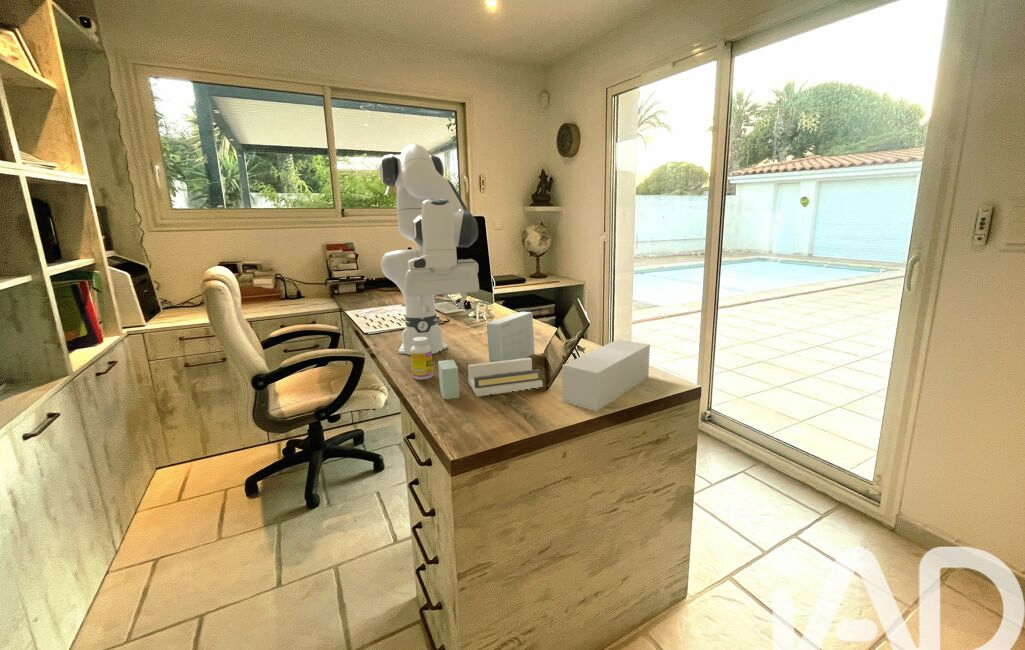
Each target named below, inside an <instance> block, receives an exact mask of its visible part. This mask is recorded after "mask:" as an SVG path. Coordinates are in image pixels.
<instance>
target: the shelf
mask: <svg viewBox="0 0 1025 650" xmlns="http://www.w3.org/2000/svg"><path fill="white" fill-rule="evenodd" d="M532 360H533V359H532V358H531V357H527V358H523V359H514V360H505V361H497V362H489V361H488V362H482V363H472V364H467V366H468V367H467V368H468V376H467V378H468V380H467V381H468V384H469V386H470V387H472V388H471V389H472V391H473V392H474V394H476V395H475V396H476V397H484V396H490V394H492V395H498V394H505V393H511V392H512V391H514V392H519V390H521V391H526V390H525V389H528V390H532V389H531V388H536V389H539V388H538V387H542V388H543V380H542V370H541V369H540V368H538V369H537V368H536V369H533V361H532ZM512 393H513V392H512Z"/></svg>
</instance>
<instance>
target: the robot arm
mask: <svg viewBox="0 0 1025 650" xmlns="http://www.w3.org/2000/svg"><path fill="white" fill-rule="evenodd" d="M378 175H379V177H380V179H381V181H382V183H383V185H385V186H386V187H390V188H391V187H392V188H395V187H396V188H397V189H396V215H397V227H398V233H399V234H400V235H401V236H402V237H403V238H404V239H407V240H409V241H412V242H414V244H416V246H417V248H415V249H413V248H412V249H397V250H393V251H389V252H385V253H384V255H383V256H382V258H381V259H380V260H381V261H380V269H381V272H382V273H383V276H385V277H386V278H387V279H388V280H390V281H392V282H393V283H394V284H395V285H396V286H397V287H398V290H400V292H401V294H402V296H403V297H402V298H403V302H404V308H405V309H404V310H405V316H404V322H405V328H404V329H403V331H402V333H400V334H401V335H400V336H401V339H402V341H401V343H402V344H401V345H400V347H399V349H398V354H403V355H404V354H405V355H408V356H409V355H410V356H411V351H410V350H411V348H412V347H413V346H414V344H413V339H414V338H416V337H427V338H428V343H427V344H428V345H429V346H430V347H431V349H432V355H433V354H436V353H437V354H438V353H439V351H440V352H441V351H443V349H444V350H446V348H447V349H448V348H449V347H448V344H446V343H444V341H443V331H442V328H441V326H439V325H438V316H437V313H436V302H435V296H437V295H438V296H439V295H441V296H442V295H456V294H460V297H461V299H460V302H459V301H458V302H457V303H456V304H457V306H456V307H457V310H464V307H465V306H464V303H465V301H466V299H467V298H468V293H469V294H470V293H477V292H478V291H479V289H480V283H479V275H478V273H479V264H478V262H477V261H476V260H475V259H473V258H466V259H464V258H461V259H458V256H457V248H469V247H470V246H472V245H473V244H474V243H475V242H476V241H477V239H478V237H479V227H478V221H477V220H476V218H475V217H474V215H473V214H472V213H471V212H470V211H469V209H468V208H467V206H466V204H465V202H464V201H463V199H462V197H461V196H460V194H459V192H458V190H457V189H456V187H455V185H454V184H453V183H452V181H450V180H448V179H447V178H445V177H444V176H445V168H444V164H443V162H442V159H441V158H440V157H439V156H437V155H432V154H430V153H429V152H428V150H427V149H426V148H425V147H424V146H423V145H421V144H416V143H415V144H409V145H407V146H405V147H404V148H403V149H402V151H401V153H400V154H393V153H391V154H386V155H383V157H381V158H380V162H379V165H378Z"/></svg>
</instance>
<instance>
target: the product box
mask: <svg viewBox="0 0 1025 650" xmlns="http://www.w3.org/2000/svg"><path fill="white" fill-rule="evenodd" d="M437 365H438V366H437V368H438V377H439V378H438V380H439V391H440V394H441V397H442V396H443V397H442V399H443V400H444V399H446V400H452V398H453V399H460V398H459V397H460V382H459V366H457V363H456V361H455V360H454V359H444V360H438V361H437Z"/></svg>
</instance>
